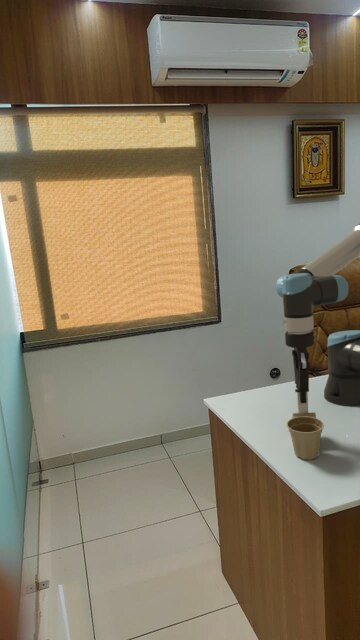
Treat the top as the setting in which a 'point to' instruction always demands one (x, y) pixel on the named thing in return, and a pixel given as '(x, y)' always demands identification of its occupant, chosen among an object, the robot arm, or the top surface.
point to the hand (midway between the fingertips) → (303, 411)
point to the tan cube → (303, 415)
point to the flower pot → (305, 436)
